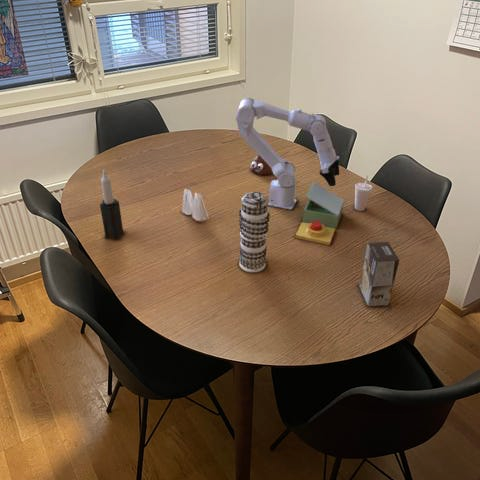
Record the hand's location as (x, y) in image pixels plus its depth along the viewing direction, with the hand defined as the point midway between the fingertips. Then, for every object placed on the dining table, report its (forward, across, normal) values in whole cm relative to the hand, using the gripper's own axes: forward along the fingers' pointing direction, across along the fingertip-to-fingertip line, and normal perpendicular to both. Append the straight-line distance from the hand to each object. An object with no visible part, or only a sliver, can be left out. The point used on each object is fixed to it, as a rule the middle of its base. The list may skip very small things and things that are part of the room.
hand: (334, 180), depth 173 cm
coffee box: (+15, -48, -17) cm, 52 cm away
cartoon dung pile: (+65, +241, +41) cm, 253 cm away
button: (+6, -22, +4) cm, 23 cm away
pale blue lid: (+2, -10, +2) cm, 10 cm away
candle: (-18, -47, +65) cm, 82 cm away
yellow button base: (+8, -22, +5) cm, 24 cm away
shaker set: (-8, -27, +46) cm, 54 cm away
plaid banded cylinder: (+1, -46, +19) cm, 50 cm away
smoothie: (+15, +2, -6) cm, 16 cm away
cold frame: (+9, -10, +5) cm, 15 cm away
